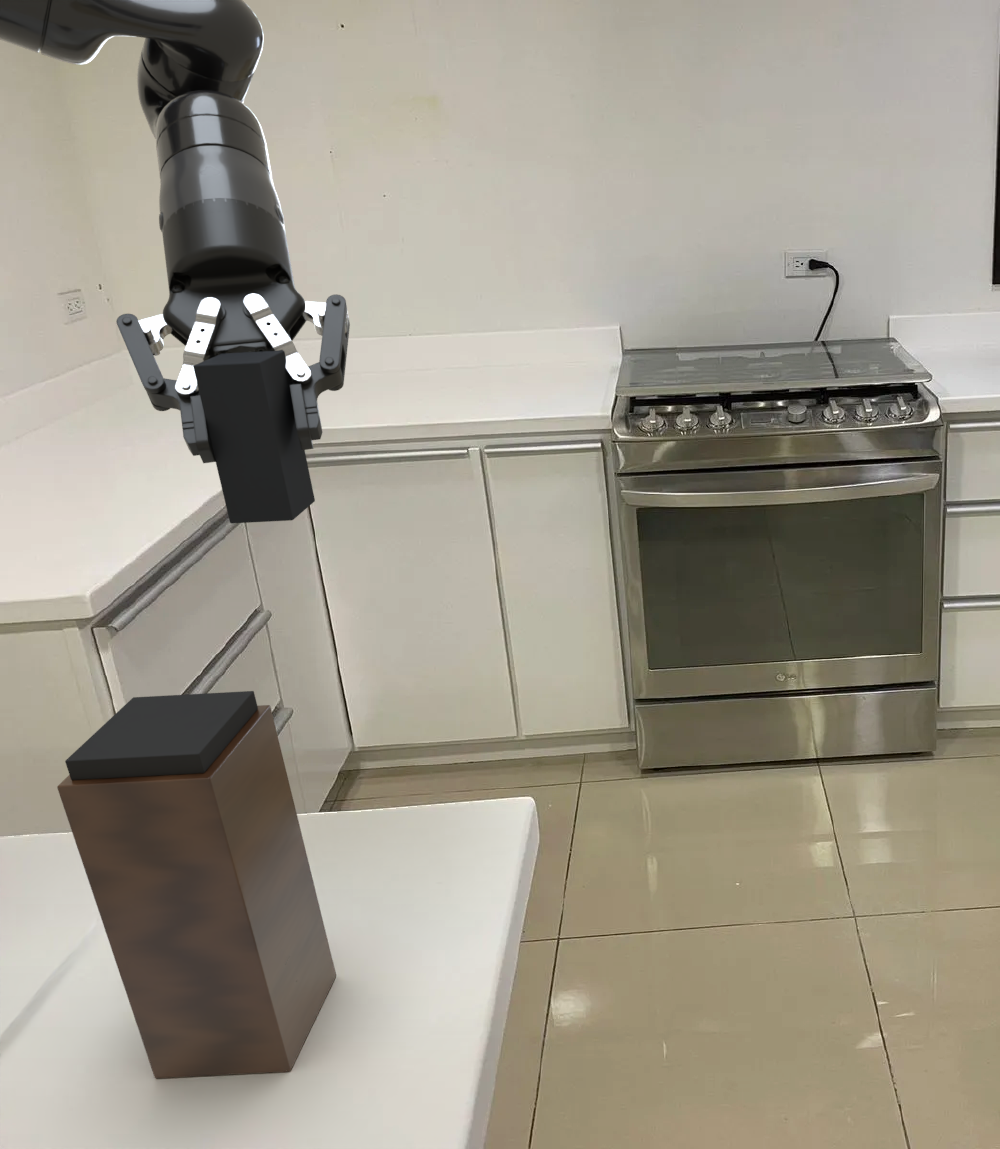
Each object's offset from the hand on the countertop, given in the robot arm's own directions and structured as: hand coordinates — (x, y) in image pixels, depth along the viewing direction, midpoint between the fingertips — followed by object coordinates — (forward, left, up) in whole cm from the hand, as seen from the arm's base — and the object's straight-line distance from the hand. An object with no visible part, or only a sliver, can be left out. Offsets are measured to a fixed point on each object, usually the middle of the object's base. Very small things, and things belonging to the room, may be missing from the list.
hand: (256, 448), depth 69 cm
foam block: (-1, +2, -5) cm, 5 cm away
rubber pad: (-2, -13, -13) cm, 19 cm away
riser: (-2, -13, -33) cm, 36 cm away
